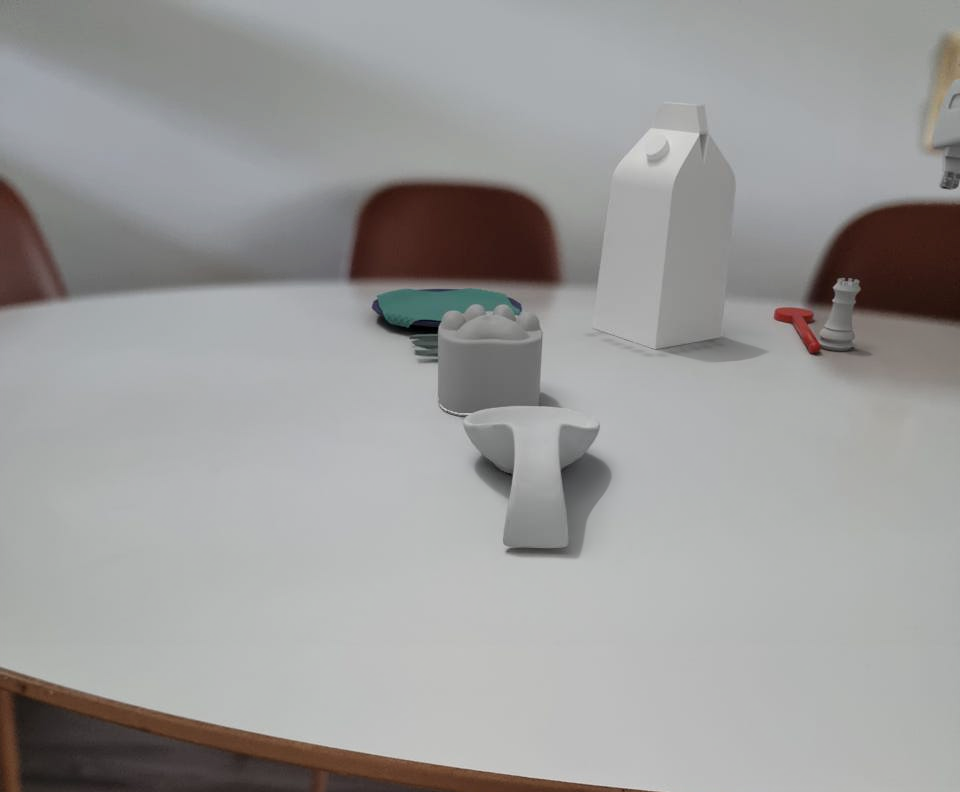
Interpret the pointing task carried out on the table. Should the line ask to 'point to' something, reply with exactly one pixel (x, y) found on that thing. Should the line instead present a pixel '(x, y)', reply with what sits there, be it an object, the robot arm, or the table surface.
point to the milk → (667, 235)
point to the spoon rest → (533, 465)
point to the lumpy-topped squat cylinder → (488, 359)
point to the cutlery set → (434, 309)
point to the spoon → (800, 324)
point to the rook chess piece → (840, 317)
